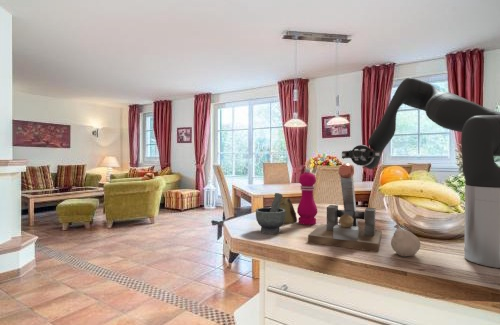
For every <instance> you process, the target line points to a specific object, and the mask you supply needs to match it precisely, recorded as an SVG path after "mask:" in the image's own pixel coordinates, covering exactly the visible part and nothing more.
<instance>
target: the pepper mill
mask: <svg viewBox="0 0 500 325" xmlns="http://www.w3.org/2000/svg"><path fill="white" fill-rule="evenodd" d="M316 181H317V178H316V176H315V175H314V173H313V172H311V169H310V168H305V170H304V172H303V173H302V174H300V176H299V179H298V182H299V184H300V190H301V197H300V201H299V203H298V205H297V211H296V212H297V213H296V214H298V216H299V217H298V224H300V225H305V226H308V225H309V226H312V225H316V224H317V218H316V216H317V214H318V207H317V204H316V203H315V202H316V201H315V200H314V199H315V198H314V191H315V186H314V185H315V184H316Z"/></svg>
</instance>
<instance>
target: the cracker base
mask: <svg viewBox="0 0 500 325" xmlns="http://www.w3.org/2000/svg"><path fill="white" fill-rule="evenodd" d="M337 210H339V205H337V204H329V205H328V206H327V207H326V224H325V223H320V225H318V226H317V227H316V228H315V229H313V230H312V231H311V232H309V233H308V235H307V242H308V243H310V244H311V243H312V244H319V245H326V246H333V247H340V248H341V247H342V248H348V249H354V250H355V249H356V250H361V251H369V252H370V251H371V252H379V250H380V245H381V240H382V229H376V207H365V210H364V212H365V219H364V227H359V226H357V227H355V226H352V225H353V218H352V217H351V216H350V215H347V214H345V215H342V216H341V217H337Z"/></svg>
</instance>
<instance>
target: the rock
mask: <svg viewBox="0 0 500 325" xmlns="http://www.w3.org/2000/svg"><path fill="white" fill-rule="evenodd" d="M279 208H280V209H285V220H284V222H283V224H285V223H286V224H294V223H298V216H297V213H296V212H297V211H295V208H294V205H293V203H292V201H291V199H290V197H282V198H281V202H280V207H279Z"/></svg>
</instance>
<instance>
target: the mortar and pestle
mask: <svg viewBox="0 0 500 325" xmlns="http://www.w3.org/2000/svg"><path fill="white" fill-rule="evenodd" d="M283 196H284V195H283V194H282V193H280V192H274V198H273V200H272V203H271V206H270V207H260V208H256V209H255V218H256V221H257V224H258V225H259V227H260V233H263V234H267V235H275V234H278V233H279V234H280V233H281V231H280V227H282V225H283V224H284V223H283V222H284V220H285V209H280V208H279V207H280V202H281V199H283V198H284V197H283Z"/></svg>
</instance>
